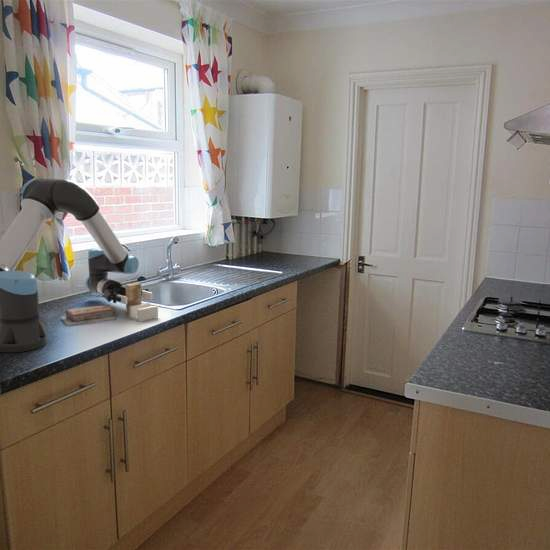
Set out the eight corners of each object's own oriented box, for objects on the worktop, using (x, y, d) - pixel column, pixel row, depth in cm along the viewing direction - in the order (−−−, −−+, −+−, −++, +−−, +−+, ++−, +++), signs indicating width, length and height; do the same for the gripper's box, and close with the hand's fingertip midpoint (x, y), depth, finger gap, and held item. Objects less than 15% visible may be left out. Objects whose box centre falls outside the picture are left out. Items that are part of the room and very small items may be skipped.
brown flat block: (108, 302, 205) (116, 307, 197) (108, 314, 206) (117, 320, 198) (60, 308, 195) (67, 314, 187) (61, 320, 196) (68, 327, 188)
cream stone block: (139, 321, 195) (139, 309, 194) (129, 317, 200) (129, 306, 199) (158, 317, 201) (157, 306, 200) (147, 313, 206) (147, 302, 205)
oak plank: (130, 315, 203) (129, 285, 200) (126, 314, 205) (125, 284, 202) (141, 313, 206) (140, 283, 204) (137, 312, 208) (136, 282, 206)
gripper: (135, 293, 225) (164, 303, 210) (84, 302, 209) (112, 313, 194) (134, 276, 224) (164, 284, 209) (83, 283, 207) (111, 293, 192)
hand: (139, 298), depth 201 cm, fingers open, 10 cm apart
